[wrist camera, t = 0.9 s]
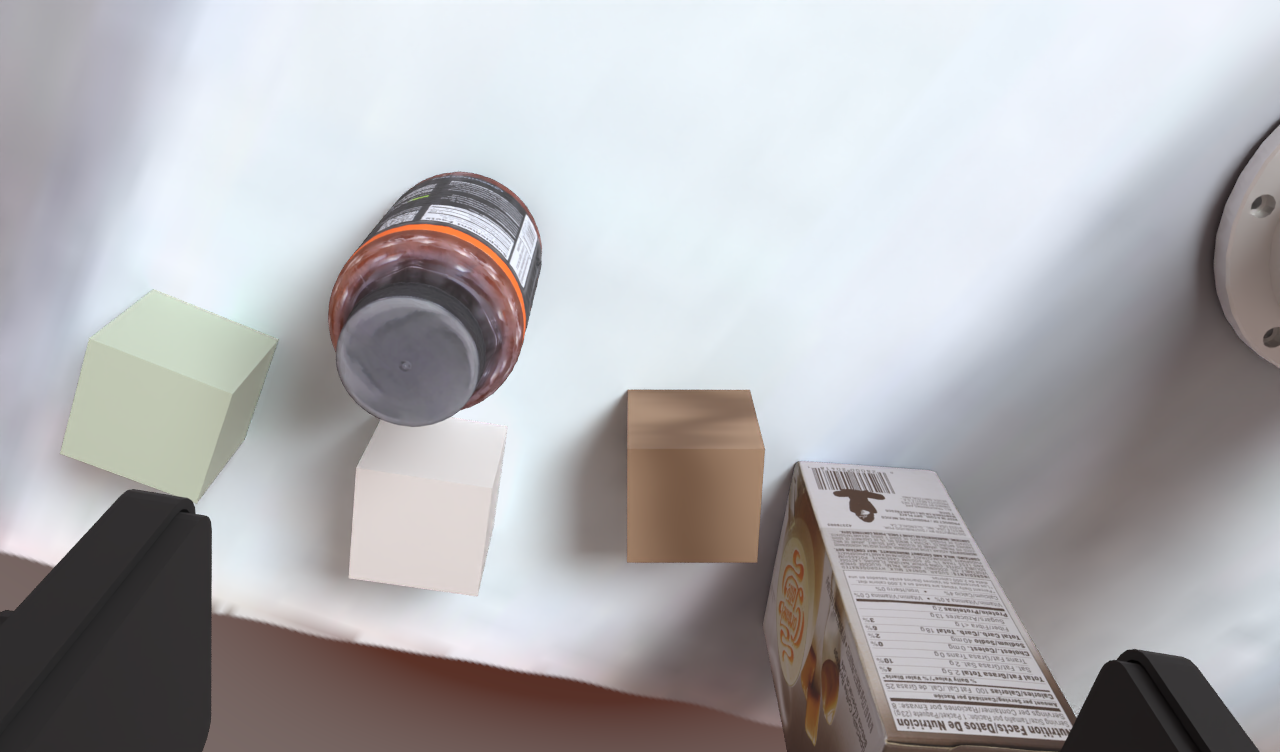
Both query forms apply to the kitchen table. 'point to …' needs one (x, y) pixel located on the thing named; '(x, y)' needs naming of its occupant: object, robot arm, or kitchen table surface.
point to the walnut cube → (693, 476)
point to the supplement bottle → (436, 300)
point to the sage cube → (167, 394)
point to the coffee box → (898, 625)
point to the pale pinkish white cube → (427, 504)
